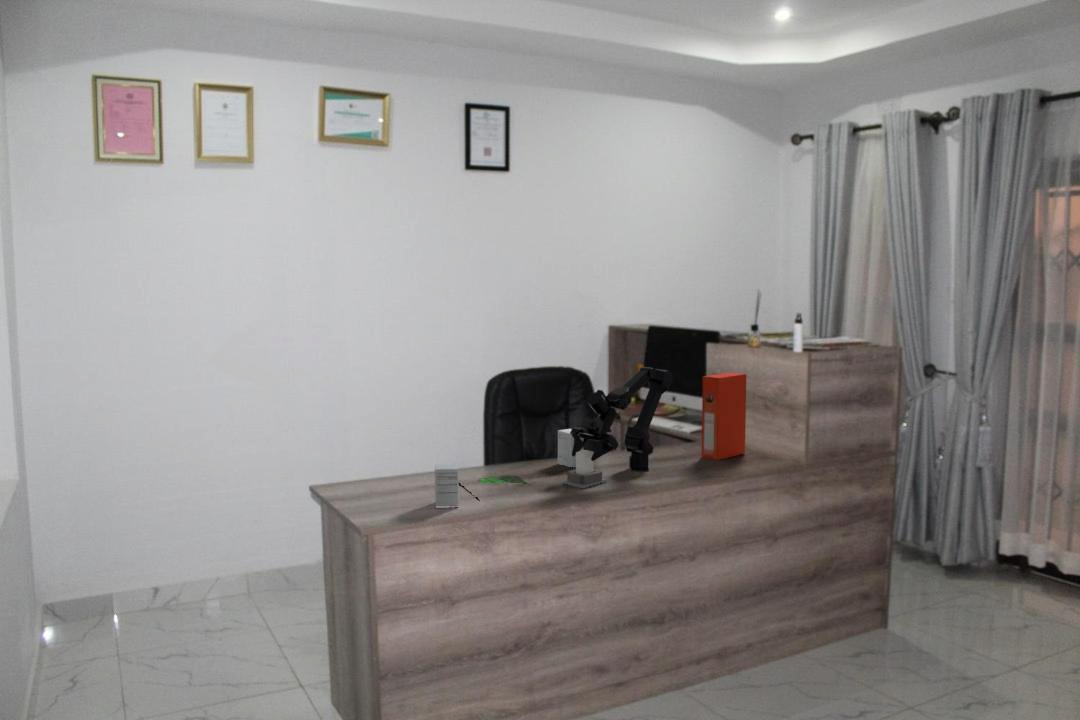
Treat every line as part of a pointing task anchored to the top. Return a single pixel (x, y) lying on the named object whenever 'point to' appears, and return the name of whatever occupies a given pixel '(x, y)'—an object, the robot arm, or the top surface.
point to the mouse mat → (502, 480)
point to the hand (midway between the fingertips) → (582, 458)
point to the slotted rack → (584, 479)
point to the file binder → (723, 415)
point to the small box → (566, 448)
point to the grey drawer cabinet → (446, 485)
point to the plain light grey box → (584, 462)
